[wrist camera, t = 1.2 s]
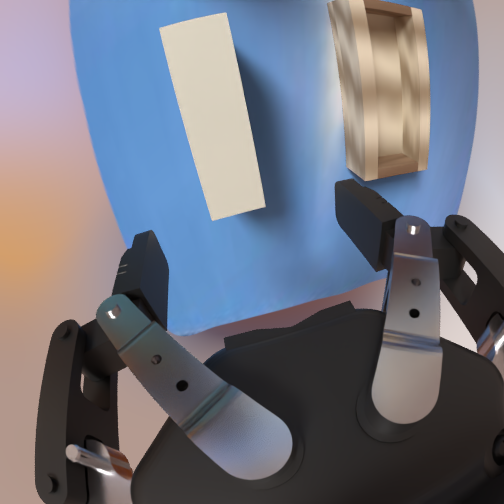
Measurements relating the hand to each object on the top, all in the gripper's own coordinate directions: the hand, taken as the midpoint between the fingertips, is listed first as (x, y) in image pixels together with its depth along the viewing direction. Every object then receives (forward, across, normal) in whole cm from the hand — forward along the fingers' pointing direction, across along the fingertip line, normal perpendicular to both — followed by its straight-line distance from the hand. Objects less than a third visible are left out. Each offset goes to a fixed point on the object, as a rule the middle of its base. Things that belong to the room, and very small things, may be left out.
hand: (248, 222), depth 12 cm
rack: (+15, -17, -3) cm, 23 cm away
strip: (+16, 0, -3) cm, 16 cm away
